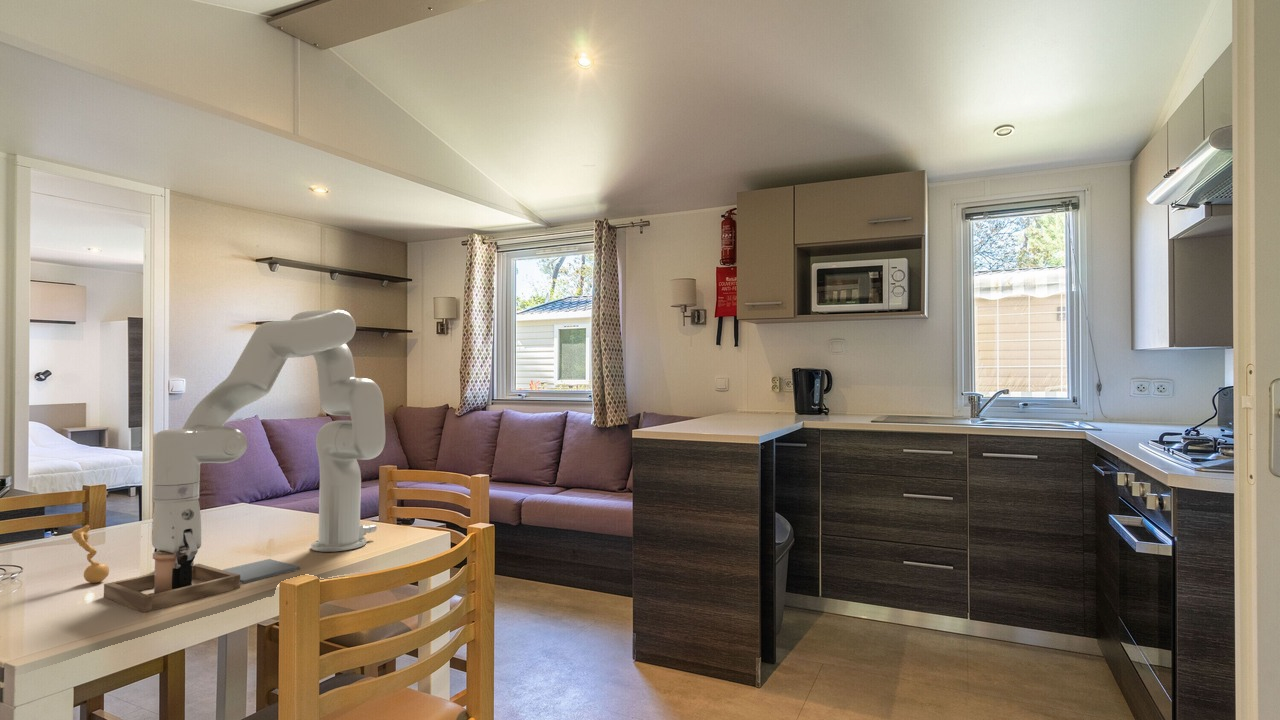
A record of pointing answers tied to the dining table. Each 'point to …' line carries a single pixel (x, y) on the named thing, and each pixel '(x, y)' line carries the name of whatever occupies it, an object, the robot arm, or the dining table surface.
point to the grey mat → (261, 570)
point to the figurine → (95, 570)
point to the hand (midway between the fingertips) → (173, 584)
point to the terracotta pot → (164, 570)
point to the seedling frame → (130, 596)
